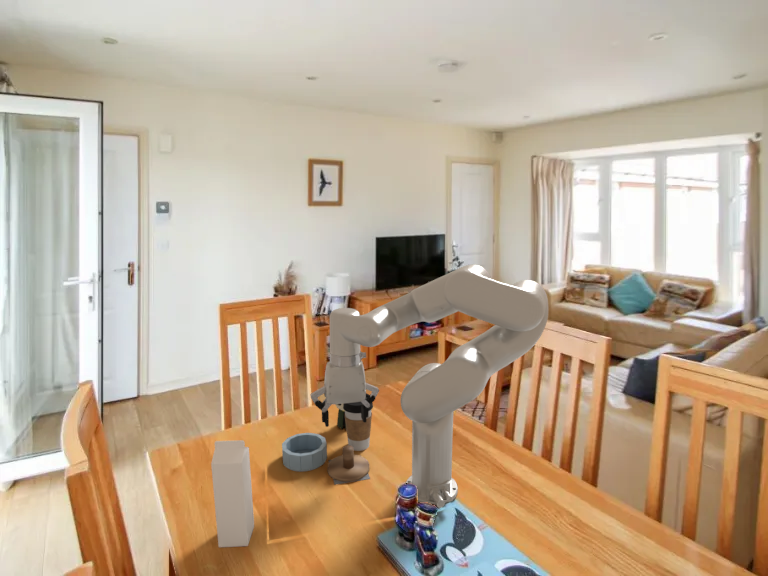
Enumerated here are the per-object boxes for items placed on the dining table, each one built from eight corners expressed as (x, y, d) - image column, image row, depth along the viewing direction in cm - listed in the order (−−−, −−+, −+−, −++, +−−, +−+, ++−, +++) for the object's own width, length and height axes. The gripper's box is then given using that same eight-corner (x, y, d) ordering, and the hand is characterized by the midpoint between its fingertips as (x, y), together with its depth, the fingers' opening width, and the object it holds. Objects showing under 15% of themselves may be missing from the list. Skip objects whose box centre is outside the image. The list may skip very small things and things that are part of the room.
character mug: (326, 429, 142) (325, 389, 140) (334, 418, 149) (333, 380, 146) (360, 433, 139) (359, 393, 137) (367, 422, 146) (366, 383, 144)
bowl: (329, 469, 121) (328, 451, 120) (284, 476, 118) (283, 458, 117) (323, 446, 132) (323, 430, 131) (282, 452, 129) (281, 436, 128)
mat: (370, 480, 116) (370, 478, 116) (334, 486, 114) (334, 484, 114) (361, 457, 127) (361, 455, 127) (328, 462, 124) (328, 460, 124)
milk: (226, 527, 100) (218, 433, 96) (255, 526, 101) (248, 432, 96) (218, 548, 94) (209, 449, 90) (248, 546, 95) (240, 447, 90)
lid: (373, 477, 116) (373, 456, 115) (330, 484, 114) (330, 462, 113) (364, 455, 127) (364, 435, 126) (325, 461, 124) (324, 440, 123)
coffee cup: (375, 439, 136) (374, 392, 133) (371, 455, 127) (370, 404, 125) (346, 438, 137) (345, 391, 134) (341, 454, 128) (340, 403, 125)
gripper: (375, 350, 120) (374, 411, 124) (308, 355, 116) (309, 418, 119) (382, 361, 113) (381, 425, 117) (311, 366, 109) (312, 433, 112)
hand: (345, 422), depth 118 cm, fingers open, 9 cm apart
